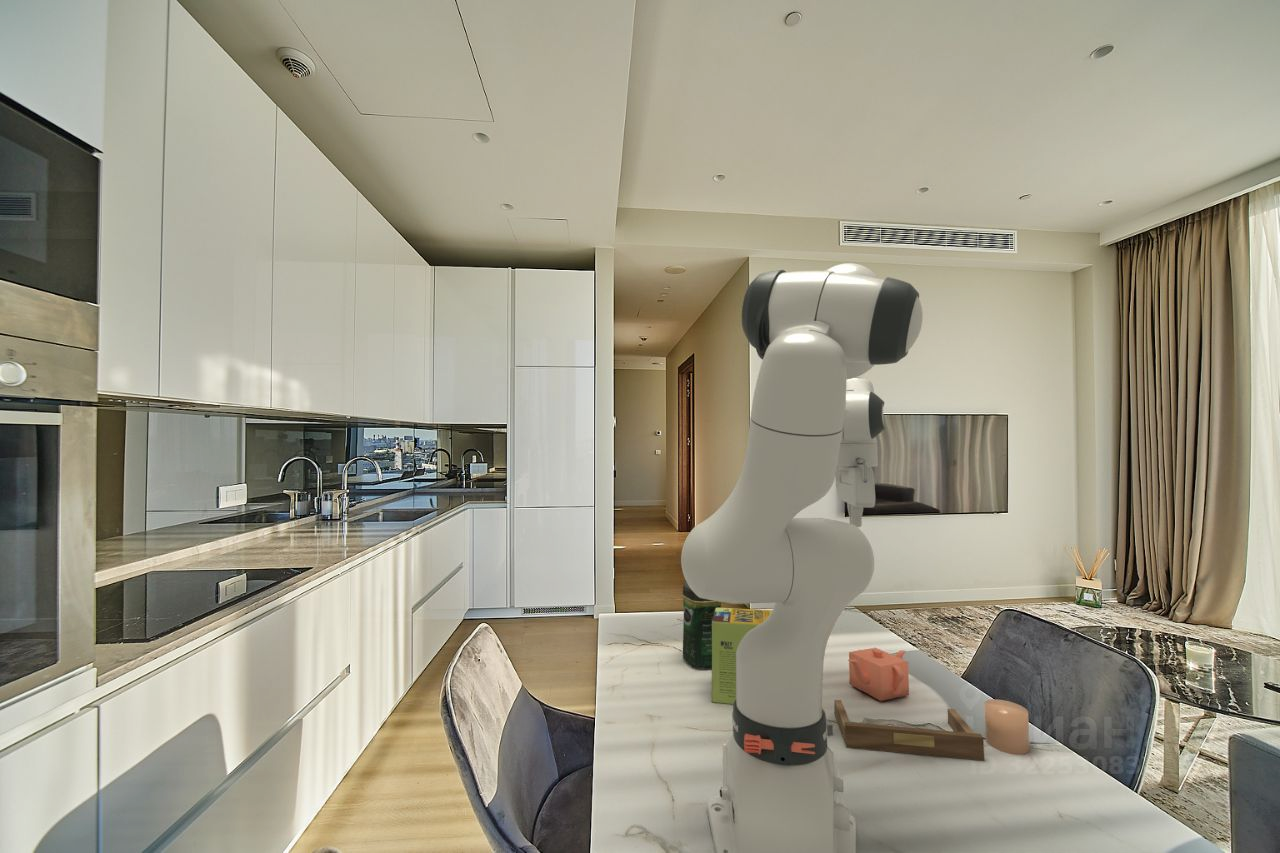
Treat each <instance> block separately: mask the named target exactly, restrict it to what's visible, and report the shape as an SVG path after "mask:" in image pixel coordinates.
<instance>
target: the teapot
mask: <svg viewBox="0 0 1280 853" xmlns="http://www.w3.org/2000/svg"><path fill="white" fill-rule="evenodd" d="M906 652H907V651H906V650H898V651H897V652H896V654H895V655H893V654H892V653H889V652H888V651H887V652H886V651H884V650H882V649H879V648H877V647H871V648H866V649H865V648H864V649H859V650H855V651H854V650H853V651H849V652H848V660H847V661H848V669H849V670H848V672H849V673H848V674H849V675H848V676H849V678H848V679H849V680H848V681H849V685H851V686H852V687H854V688H856V689H858V690H859V691H862V692H864V693H866V694H867V695H869V696H871V697H873V698H874V699H876V700H879V701H881V702H884V701H889V700H892V699H897V698H900V697H906V696H909V695H910V688H909V687H910V682H909V681H910V680H909V661H908V660H905V659H904V658H903V656H904V655H905V653H906Z"/></svg>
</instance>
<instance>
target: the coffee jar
mask: <svg viewBox="0 0 1280 853" xmlns="http://www.w3.org/2000/svg"><path fill="white" fill-rule="evenodd" d="M682 586H683V587H682V603H683V605H682V606H683V628H682V630H683V631H682V632H683V633H682V634H683V636H682V658H683V659H684V661H685V662H686V663H687V664H689V665H690V666H691V667H693V668H696V669H705V670H710V669H711V670H712V619H713V616H714V612H715V608H722V602H718V601H713V600H708V599H703V598H699V597H698V596H697V595H696V594H695V593H694V592H693V591H692V590H691V588H690V587H689V585H688V583H687V582H686V581H685V582H684V583H683V585H682Z"/></svg>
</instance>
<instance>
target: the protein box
mask: <svg viewBox="0 0 1280 853" xmlns="http://www.w3.org/2000/svg"><path fill="white" fill-rule="evenodd" d="M772 610H773V609H772ZM772 610H771V609H769V610H768V609H755V608H734V607H721V608H715V612H714V616H713V619H712V668H711V702H712V703H718V704H719V703H720V704H727V705H733V704H734V701H735V700H736V651H737V648H738V645H739V643H740V641H741V639H742V638H743V636H744V635H745V634H746V633H747V632H748V631H750V630H751V629H753V628H755V627H756V626H758V625H760V624H761V623H762V622H764V621H765V620H766V619H767V618H768V616H769V615H770V614H771V612H772Z"/></svg>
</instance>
